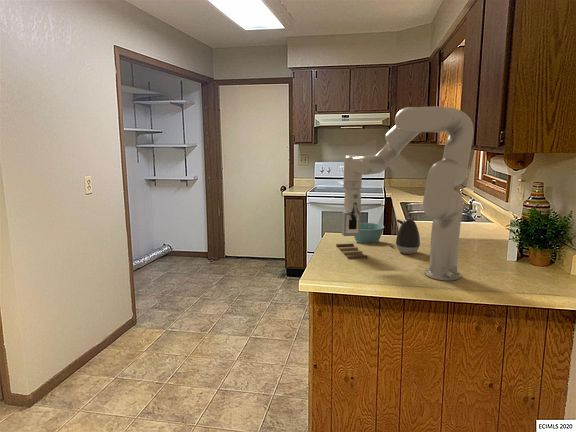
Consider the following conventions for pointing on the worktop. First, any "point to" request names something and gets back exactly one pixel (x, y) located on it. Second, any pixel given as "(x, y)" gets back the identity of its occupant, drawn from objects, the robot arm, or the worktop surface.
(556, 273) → the worktop surface
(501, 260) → the worktop surface
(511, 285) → the worktop surface
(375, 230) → the bowl
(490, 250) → the worktop surface
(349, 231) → the picture frame
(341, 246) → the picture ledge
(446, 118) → the robot arm
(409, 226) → the pump dispenser
